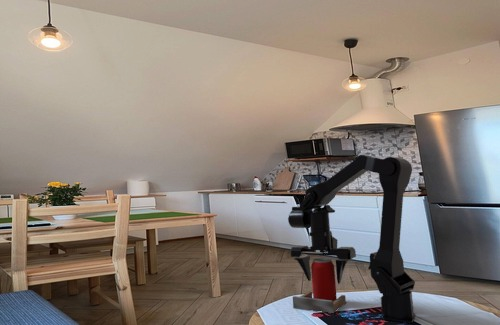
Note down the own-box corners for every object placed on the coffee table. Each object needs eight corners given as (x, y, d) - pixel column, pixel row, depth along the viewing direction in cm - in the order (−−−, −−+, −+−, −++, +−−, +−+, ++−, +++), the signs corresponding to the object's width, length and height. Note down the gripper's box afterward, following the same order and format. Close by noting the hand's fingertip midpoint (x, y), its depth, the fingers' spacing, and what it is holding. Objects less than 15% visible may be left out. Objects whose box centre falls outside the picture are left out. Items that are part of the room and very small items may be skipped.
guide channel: (345, 302, 95) (345, 291, 95) (332, 313, 86) (331, 301, 86) (309, 298, 101) (308, 287, 101) (293, 308, 92) (292, 296, 92)
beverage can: (335, 298, 100) (332, 257, 101) (338, 304, 93) (335, 261, 95) (312, 298, 100) (309, 258, 102) (314, 305, 94) (311, 261, 95)
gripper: (358, 226, 101) (363, 279, 99) (302, 226, 111) (306, 274, 109) (347, 229, 92) (352, 287, 90) (287, 229, 102) (290, 281, 100)
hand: (324, 281), depth 97 cm, fingers open, 9 cm apart
